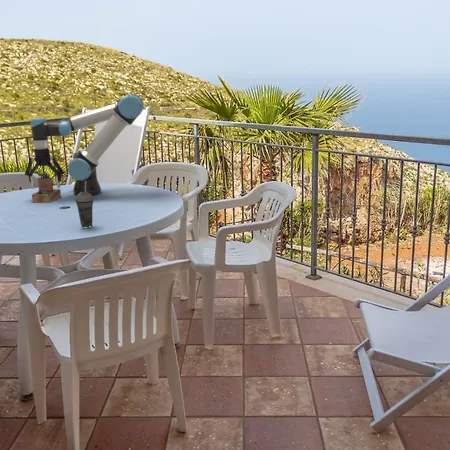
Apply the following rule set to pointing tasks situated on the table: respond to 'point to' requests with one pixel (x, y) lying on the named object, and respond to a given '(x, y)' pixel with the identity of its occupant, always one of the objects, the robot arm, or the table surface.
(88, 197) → the beverage cup
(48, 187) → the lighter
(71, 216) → the table surface
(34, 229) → the table surface
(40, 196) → the shallow wooden box
